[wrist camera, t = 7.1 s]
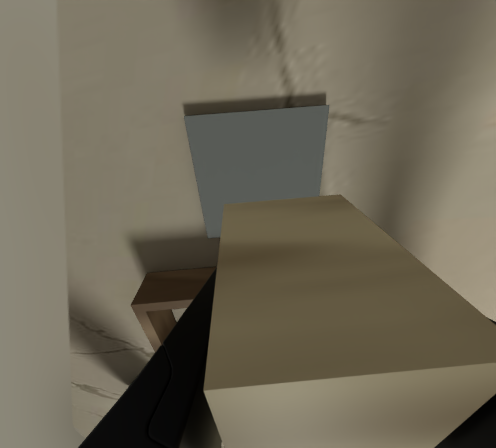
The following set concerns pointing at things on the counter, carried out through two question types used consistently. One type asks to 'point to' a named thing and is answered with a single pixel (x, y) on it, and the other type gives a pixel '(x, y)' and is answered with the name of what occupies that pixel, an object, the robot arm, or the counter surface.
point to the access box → (166, 299)
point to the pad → (256, 157)
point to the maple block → (337, 334)
